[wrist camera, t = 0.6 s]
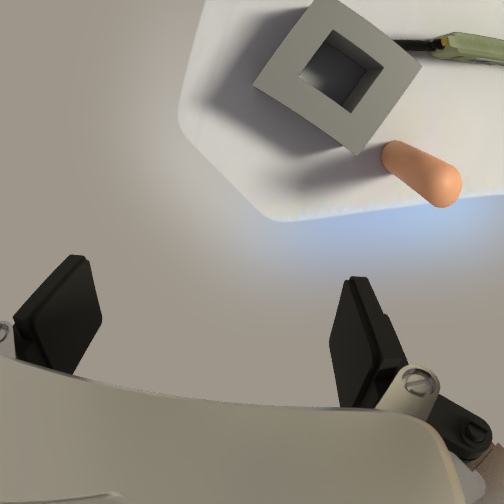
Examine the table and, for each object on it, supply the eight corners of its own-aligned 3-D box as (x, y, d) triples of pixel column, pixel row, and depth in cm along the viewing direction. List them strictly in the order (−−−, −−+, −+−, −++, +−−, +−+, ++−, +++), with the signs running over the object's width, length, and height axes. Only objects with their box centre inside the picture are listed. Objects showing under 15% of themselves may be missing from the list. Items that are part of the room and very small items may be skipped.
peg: (393, 133, 33) (442, 154, 23) (416, 154, 34) (468, 182, 23) (374, 159, 35) (416, 190, 24) (398, 179, 36) (443, 216, 25)
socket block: (313, 5, 27) (322, -10, 21) (399, 68, 29) (422, 66, 24) (254, 86, 32) (252, 85, 26) (343, 146, 34) (357, 156, 29)
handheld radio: (532, 73, 26) (390, 60, 29) (529, 52, 25) (384, 34, 28) (562, 75, 20) (413, 53, 23) (558, 52, 19) (406, 22, 22)
